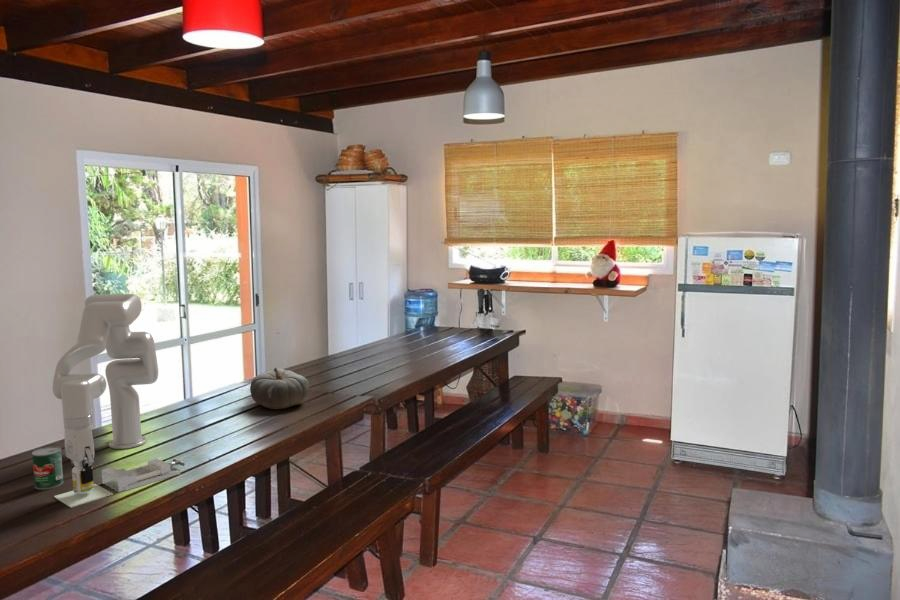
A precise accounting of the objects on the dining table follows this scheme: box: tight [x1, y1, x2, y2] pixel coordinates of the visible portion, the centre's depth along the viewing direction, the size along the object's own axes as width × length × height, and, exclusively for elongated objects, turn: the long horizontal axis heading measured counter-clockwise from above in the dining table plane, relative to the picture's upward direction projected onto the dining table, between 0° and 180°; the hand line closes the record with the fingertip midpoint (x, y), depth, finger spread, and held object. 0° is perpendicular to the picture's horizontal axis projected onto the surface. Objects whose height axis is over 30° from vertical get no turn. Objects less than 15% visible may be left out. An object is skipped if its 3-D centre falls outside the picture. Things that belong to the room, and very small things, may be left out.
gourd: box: [249, 367, 310, 410], centre depth 304 cm, size 25×25×17 cm
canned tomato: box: [31, 446, 64, 490], centre depth 215 cm, size 8×8×11 cm
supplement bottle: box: [71, 458, 94, 494], centre depth 206 cm, size 5×5×10 cm
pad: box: [53, 483, 114, 508], centre depth 206 cm, size 12×12×1 cm
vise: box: [101, 458, 186, 493], centre depth 221 cm, size 12×23×4 cm, turn 140°
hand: (82, 479), depth 206 cm, fingers closed on supplement bottle, 5 cm apart
